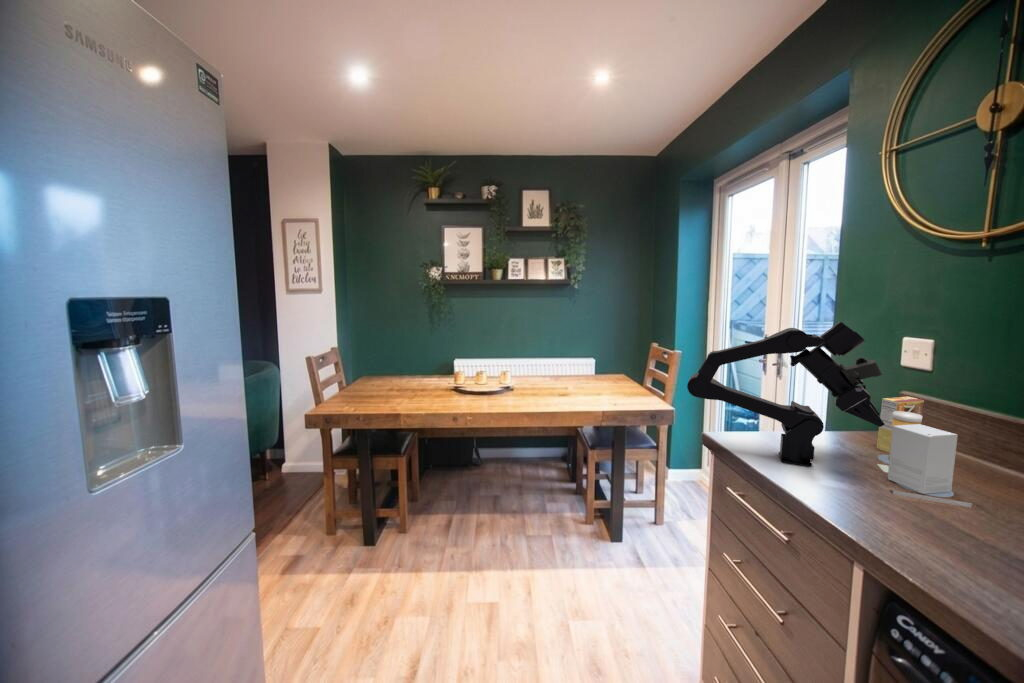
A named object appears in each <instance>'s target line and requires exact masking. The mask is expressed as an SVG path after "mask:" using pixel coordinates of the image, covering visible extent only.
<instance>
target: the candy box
mask: <svg viewBox="0 0 1024 683" xmlns="http://www.w3.org/2000/svg"><path fill="white" fill-rule="evenodd" d="M881 399H882V400H881V409H880V415H879V417H880V418H881V420H882V421H883V422H884V424H885V425H883V426H881V427H879V426H878V434H877V442H876V449H878V450H881V451H884V452H887V453H889V448H890V439H891V430H892V421H893V417H892V416H893V412H894V411H904V412H911V413H916V414H919V415H922V416H923V410H924V406H925V400H924V399H920V398H916V397H912V396H900V397H899V396H898V397H897V396H896V397H886V398H885V397H884V398H883V397H882V398H881Z"/></svg>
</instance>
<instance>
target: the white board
mask: <svg viewBox="0 0 1024 683" xmlns="http://www.w3.org/2000/svg"><path fill="white" fill-rule="evenodd" d="M888 457H889V454H879V455H878V456H877V458H878V460H880V461H881V462H883V463H886V464H881V463H880V464H879V463H876V466H878V467H879V468H880V469H881V470H882V472H883V473H887V474H888V469H889V459H888ZM887 464H888V465H887ZM896 484H897V485H899V487H900V486H901V487H902V488H905V489H906V490H909V491H911V492H912V493H911V492H905V491H901V490H900V491H899V490H894V489H893V490H892V489H889V492H890V493H891V495H893V496H900V497H905V498H910V499H911V498H912V499H916V500H917V499H918V500H923V501H929V502H935V503H941V504H947V505H951V506H957V507H958V506H959V507H964V508H965V507H966V508H971V509H972V506H973V503H971V502H966V501H960V500H954V499H948V498H950V497H953V496H954V495H955V493H954V491H953V490H951V492H942V493H927V494H922V493H920V492H917V491H915V490H913V489H910V488H908V487H906V486H903V485H901V484H899V483H896ZM913 492H914V493H913ZM917 493H918V494H917Z"/></svg>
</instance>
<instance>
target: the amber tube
mask: <svg viewBox="0 0 1024 683" xmlns="http://www.w3.org/2000/svg"><path fill="white" fill-rule="evenodd" d="M892 417H893V421H892V426H897V425H912V424H921V425H922V421H923V414H922V415H919V414H916V413H911V412H904V411H894V412H893V416H892ZM891 438H892V430H891ZM890 448H891V439H890ZM890 448H889V452H888V455H889V457H888V459H889V458H890Z"/></svg>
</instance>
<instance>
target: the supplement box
mask: <svg viewBox="0 0 1024 683" xmlns="http://www.w3.org/2000/svg"><path fill="white" fill-rule="evenodd" d="M957 443H958V434H957V433H953V432H949V431H947V430H943V429H938V428H935V427H932V426H928V425H924V424H922V423H921V424H912V425H897V426H892V438H891V448H890V458H889V464H888V466H889V469H888V473H887V480H888V481H889V480H890V481H892V482H894V483H896V484H897V483H899V484H901V485H903V486H906V487H908V488H910V489H913V490H915V491H917V492H916V493H918V492H920V493H919V494H921V493H922V494H921V495H926V494H927V493H942V492H951V491H952V488H953V487H952V486H953V480H954V471H955V461H956V454H957V453H956V452H957V445H958V444H957Z"/></svg>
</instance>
